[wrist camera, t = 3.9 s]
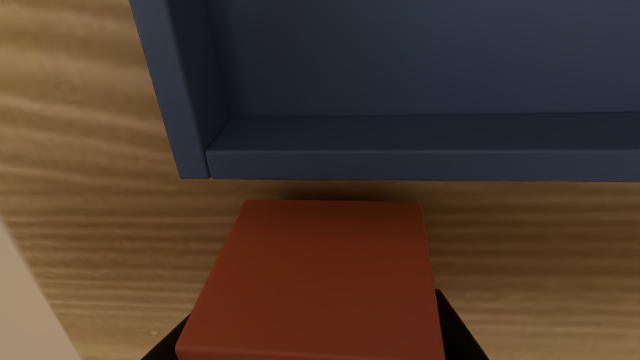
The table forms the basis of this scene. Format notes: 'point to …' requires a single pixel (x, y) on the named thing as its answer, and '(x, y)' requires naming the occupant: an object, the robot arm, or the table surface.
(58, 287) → the table surface
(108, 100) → the table surface
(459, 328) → the robot arm
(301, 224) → the terracotta block
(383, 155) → the slate tray
